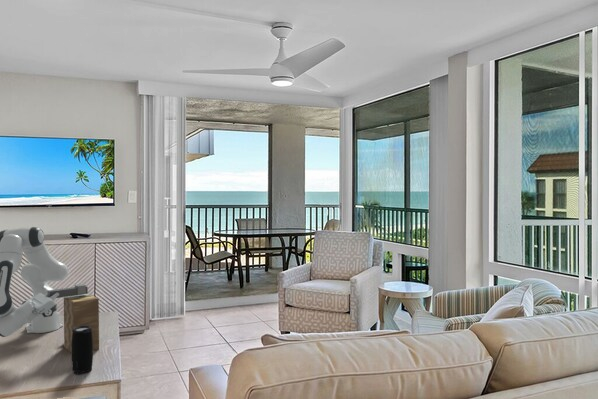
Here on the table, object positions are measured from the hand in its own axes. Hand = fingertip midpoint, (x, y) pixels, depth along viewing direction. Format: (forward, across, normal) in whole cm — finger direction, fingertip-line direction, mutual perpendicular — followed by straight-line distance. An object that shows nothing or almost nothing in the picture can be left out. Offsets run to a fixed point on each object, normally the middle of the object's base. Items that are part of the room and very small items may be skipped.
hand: (56, 292), depth 232 cm
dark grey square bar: (+3, 0, +5) cm, 6 cm away
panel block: (-6, -4, +31) cm, 32 cm away
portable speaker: (-15, -35, +26) cm, 46 cm away
